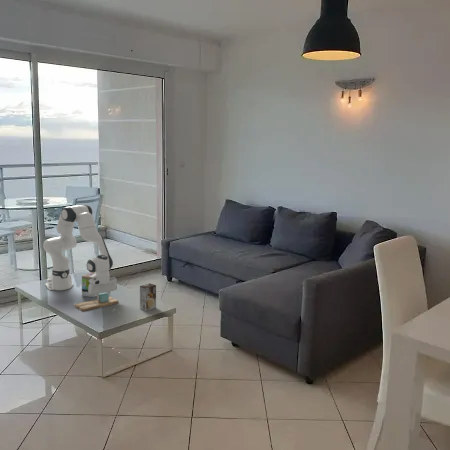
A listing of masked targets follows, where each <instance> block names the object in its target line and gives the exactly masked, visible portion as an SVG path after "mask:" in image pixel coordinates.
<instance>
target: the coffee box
mask: <svg viewBox="0 0 450 450" xmlns="http://www.w3.org/2000/svg"><path fill="white" fill-rule="evenodd" d="M156 308H157V284H153V283H145V284H143V285H140V286H139V309H140V310H142V311H144V312H149V311H151V310H153V309H156Z"/></svg>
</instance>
